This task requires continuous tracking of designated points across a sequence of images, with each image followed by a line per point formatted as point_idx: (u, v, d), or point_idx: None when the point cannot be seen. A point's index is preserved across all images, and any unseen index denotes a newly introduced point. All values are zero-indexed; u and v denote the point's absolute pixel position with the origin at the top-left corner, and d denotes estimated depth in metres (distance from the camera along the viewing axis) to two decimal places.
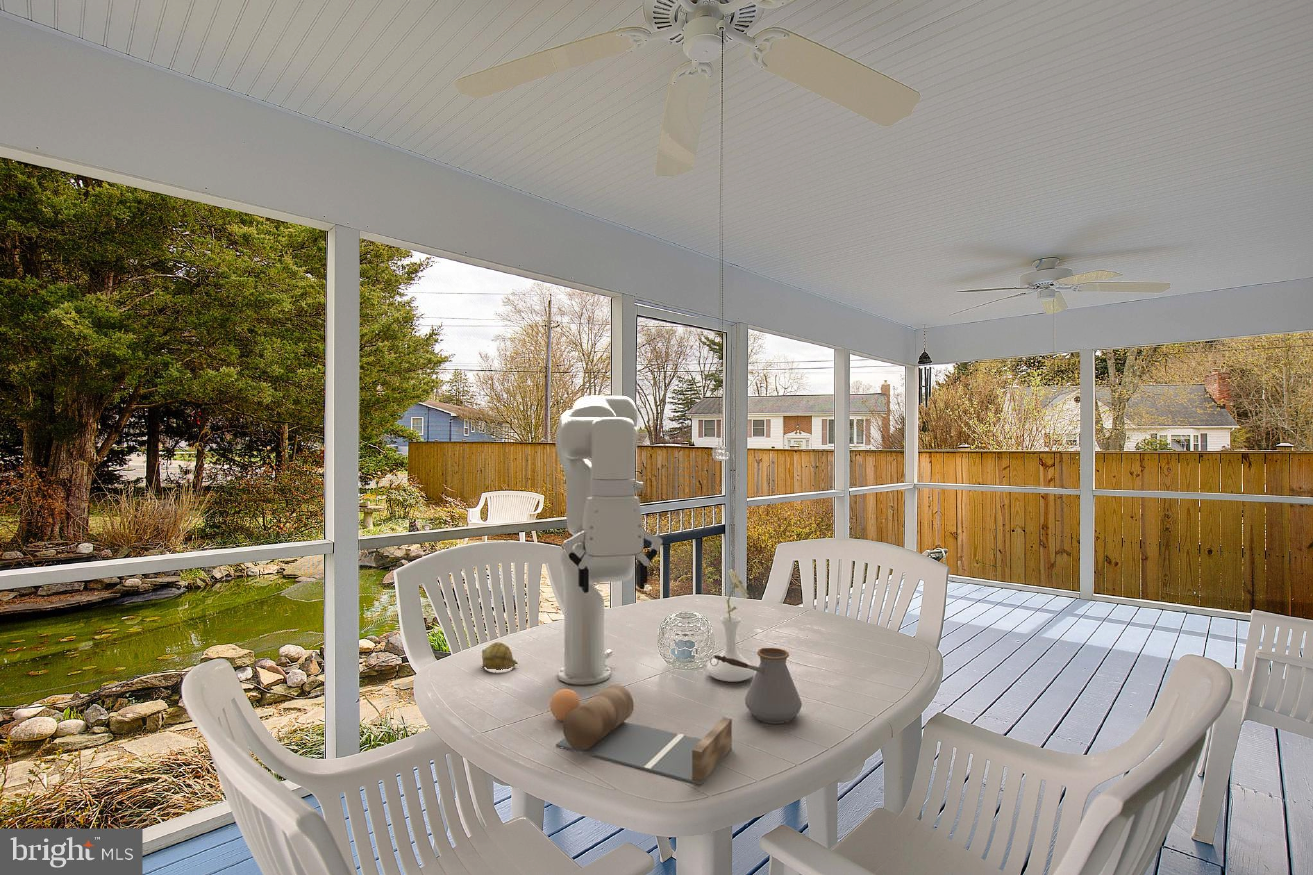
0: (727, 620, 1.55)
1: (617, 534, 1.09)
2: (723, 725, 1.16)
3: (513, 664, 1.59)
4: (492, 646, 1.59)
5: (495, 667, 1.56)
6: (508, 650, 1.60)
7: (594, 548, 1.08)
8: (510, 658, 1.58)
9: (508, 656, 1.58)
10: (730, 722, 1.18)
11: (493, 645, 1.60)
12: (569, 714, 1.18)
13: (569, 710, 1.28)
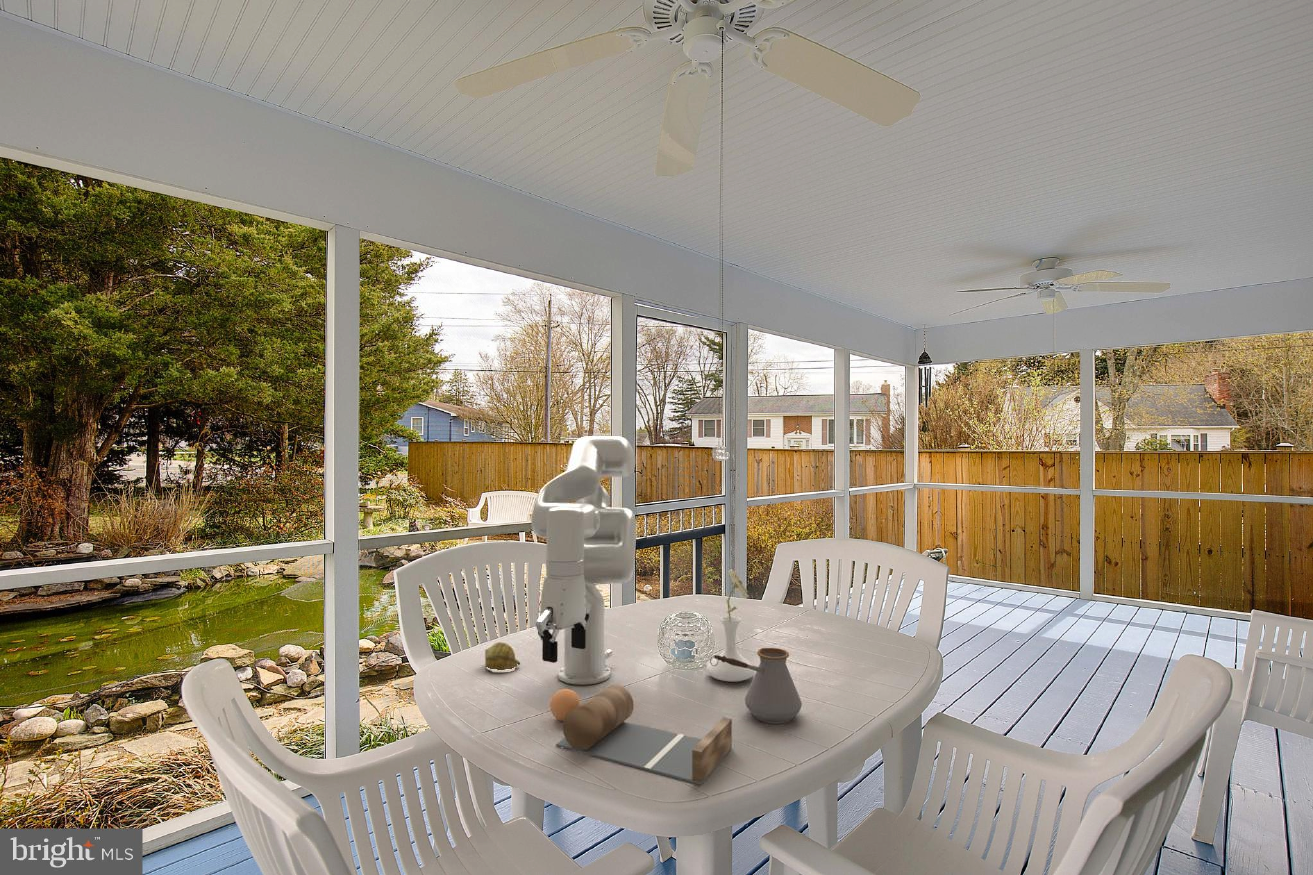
0: (727, 620, 1.55)
1: (575, 606, 1.29)
2: (723, 725, 1.16)
3: (515, 664, 1.59)
4: (495, 646, 1.59)
5: (497, 667, 1.56)
6: (511, 650, 1.59)
7: (563, 622, 1.26)
8: (512, 658, 1.58)
9: (510, 656, 1.58)
10: (730, 722, 1.18)
11: (496, 645, 1.60)
12: (569, 714, 1.18)
13: (569, 710, 1.28)
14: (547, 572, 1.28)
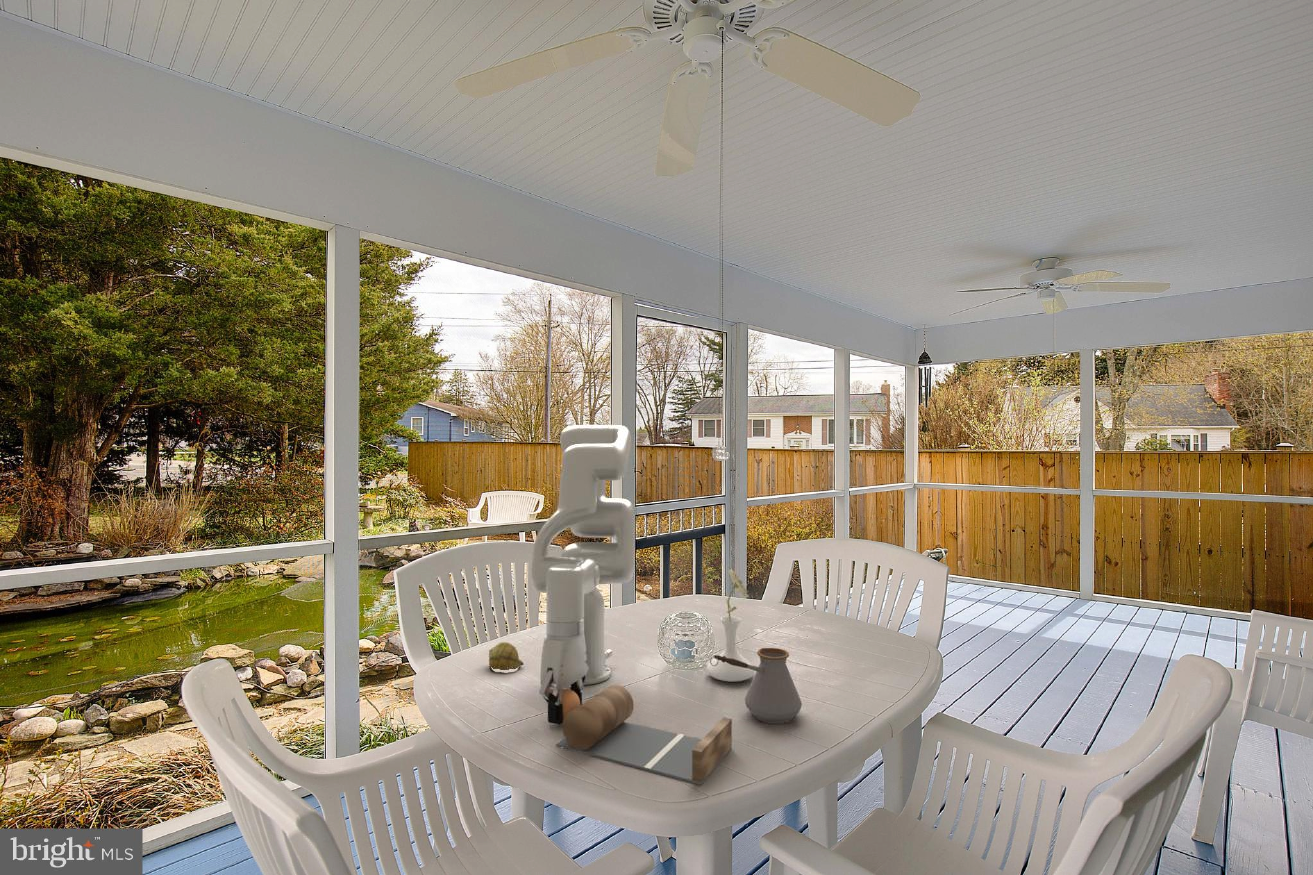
0: (727, 620, 1.55)
1: (576, 665, 1.29)
2: (723, 725, 1.16)
3: (519, 664, 1.58)
4: (498, 646, 1.59)
5: (500, 667, 1.56)
6: (514, 650, 1.59)
7: (563, 682, 1.26)
8: (516, 658, 1.58)
9: (514, 656, 1.58)
10: (730, 722, 1.18)
11: (499, 645, 1.60)
12: (569, 714, 1.18)
13: (569, 710, 1.28)
14: (547, 632, 1.28)
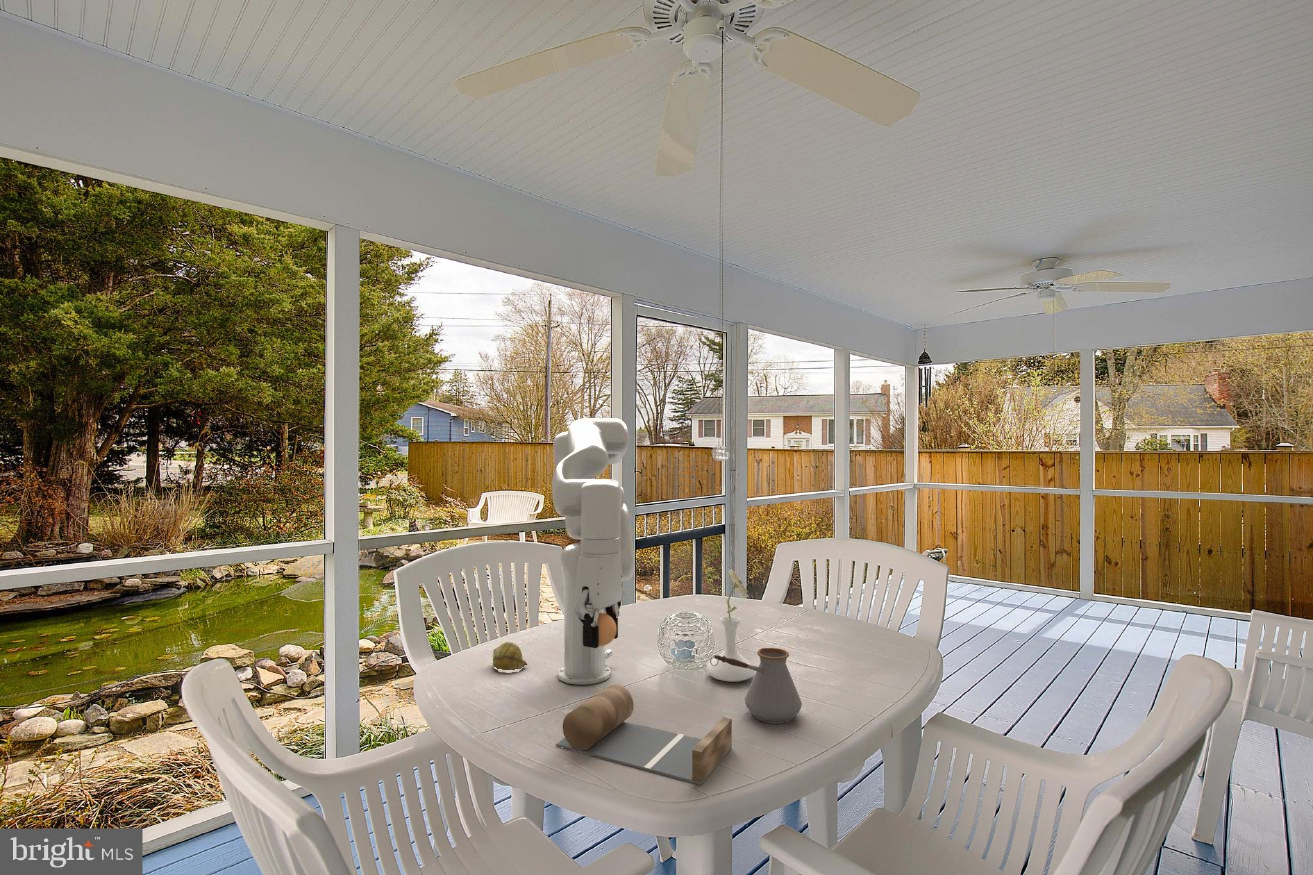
0: (727, 620, 1.55)
1: (612, 586, 1.22)
2: (723, 725, 1.16)
3: (522, 665, 1.58)
4: (502, 646, 1.59)
5: (503, 667, 1.56)
6: (518, 650, 1.59)
7: (599, 602, 1.19)
8: (519, 658, 1.58)
9: (517, 656, 1.58)
10: (730, 722, 1.18)
11: (503, 645, 1.60)
12: (569, 714, 1.18)
13: (605, 633, 1.20)
14: (582, 550, 1.22)
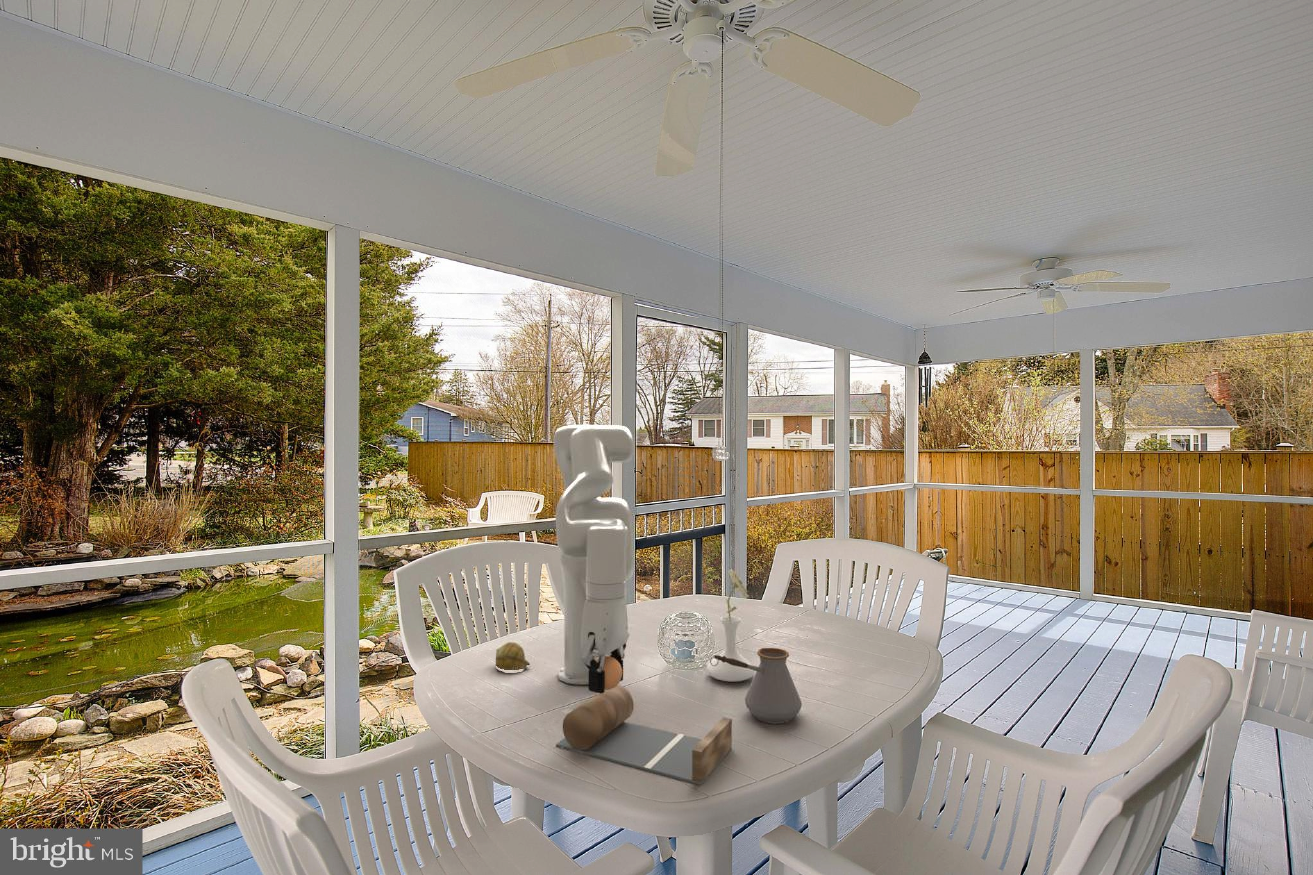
0: (727, 620, 1.55)
1: (618, 630, 1.21)
2: (723, 725, 1.16)
3: (524, 665, 1.58)
4: (505, 646, 1.59)
5: (505, 667, 1.56)
6: (520, 651, 1.59)
7: (605, 648, 1.18)
8: (521, 659, 1.58)
9: (519, 657, 1.58)
10: (730, 722, 1.18)
11: (506, 645, 1.60)
12: (569, 714, 1.18)
13: (611, 678, 1.20)
14: (588, 594, 1.21)
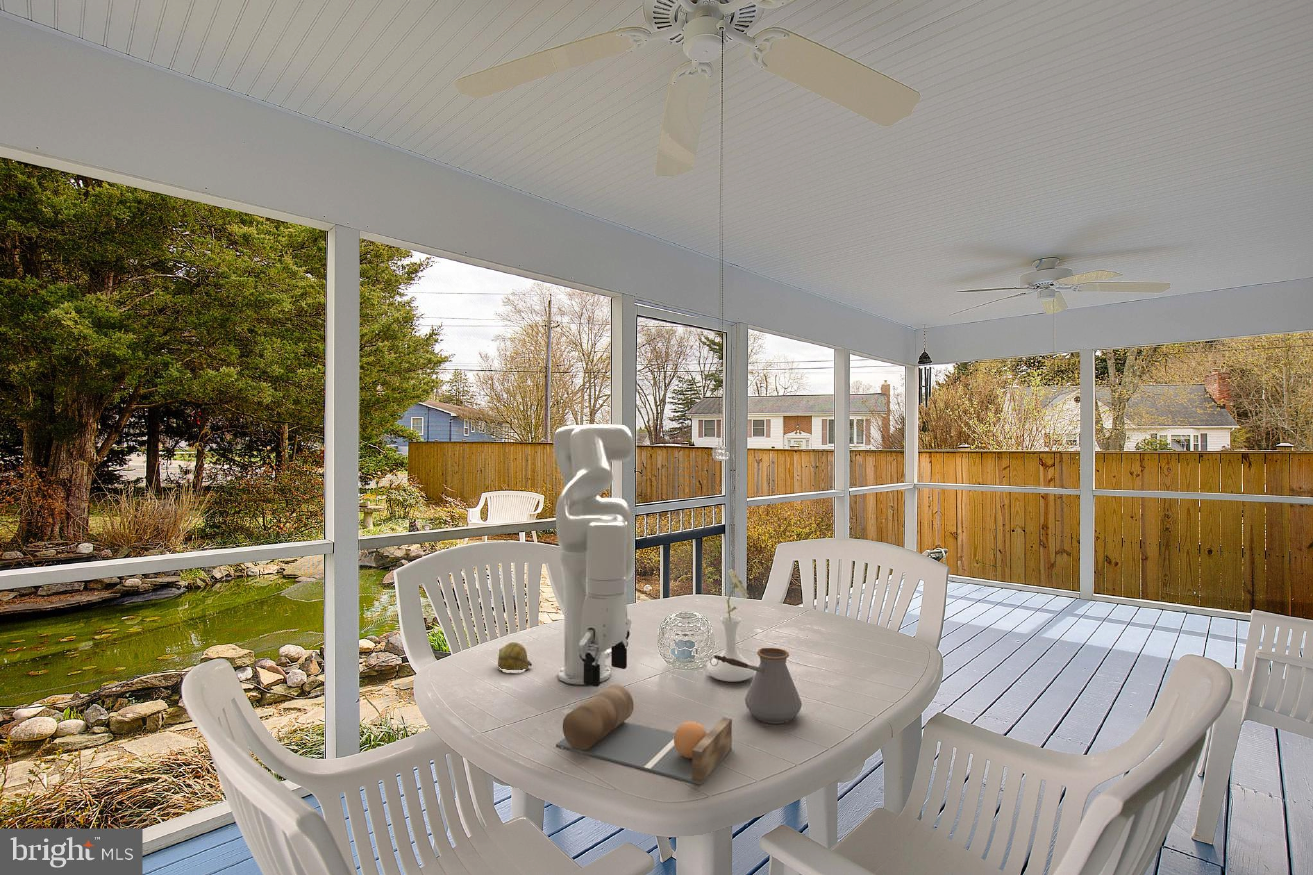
0: (727, 620, 1.55)
1: (617, 626, 1.22)
2: (723, 725, 1.16)
3: (527, 665, 1.58)
4: (507, 646, 1.59)
5: (507, 667, 1.56)
6: (522, 651, 1.59)
7: (605, 643, 1.18)
8: (523, 659, 1.58)
9: (521, 657, 1.58)
10: (730, 722, 1.18)
11: (508, 645, 1.60)
12: (569, 714, 1.18)
13: None
14: (588, 590, 1.21)
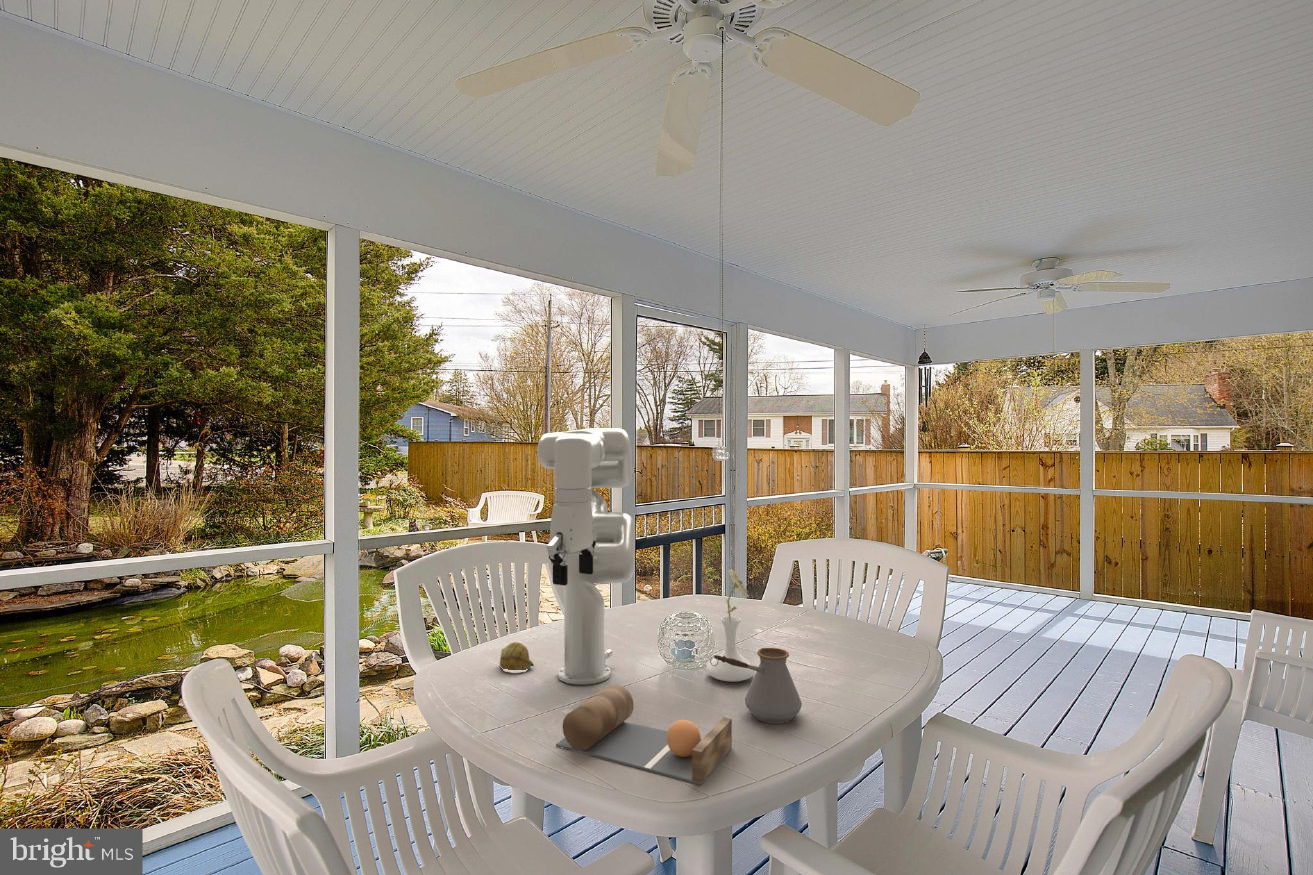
0: (727, 620, 1.55)
1: (584, 532, 1.33)
2: (723, 725, 1.16)
3: (528, 665, 1.58)
4: (509, 646, 1.59)
5: (509, 667, 1.56)
6: (524, 651, 1.59)
7: (572, 546, 1.29)
8: (525, 659, 1.58)
9: (523, 657, 1.57)
10: (730, 722, 1.18)
11: (510, 645, 1.60)
12: (569, 714, 1.18)
13: (691, 745, 1.12)
14: (556, 499, 1.31)
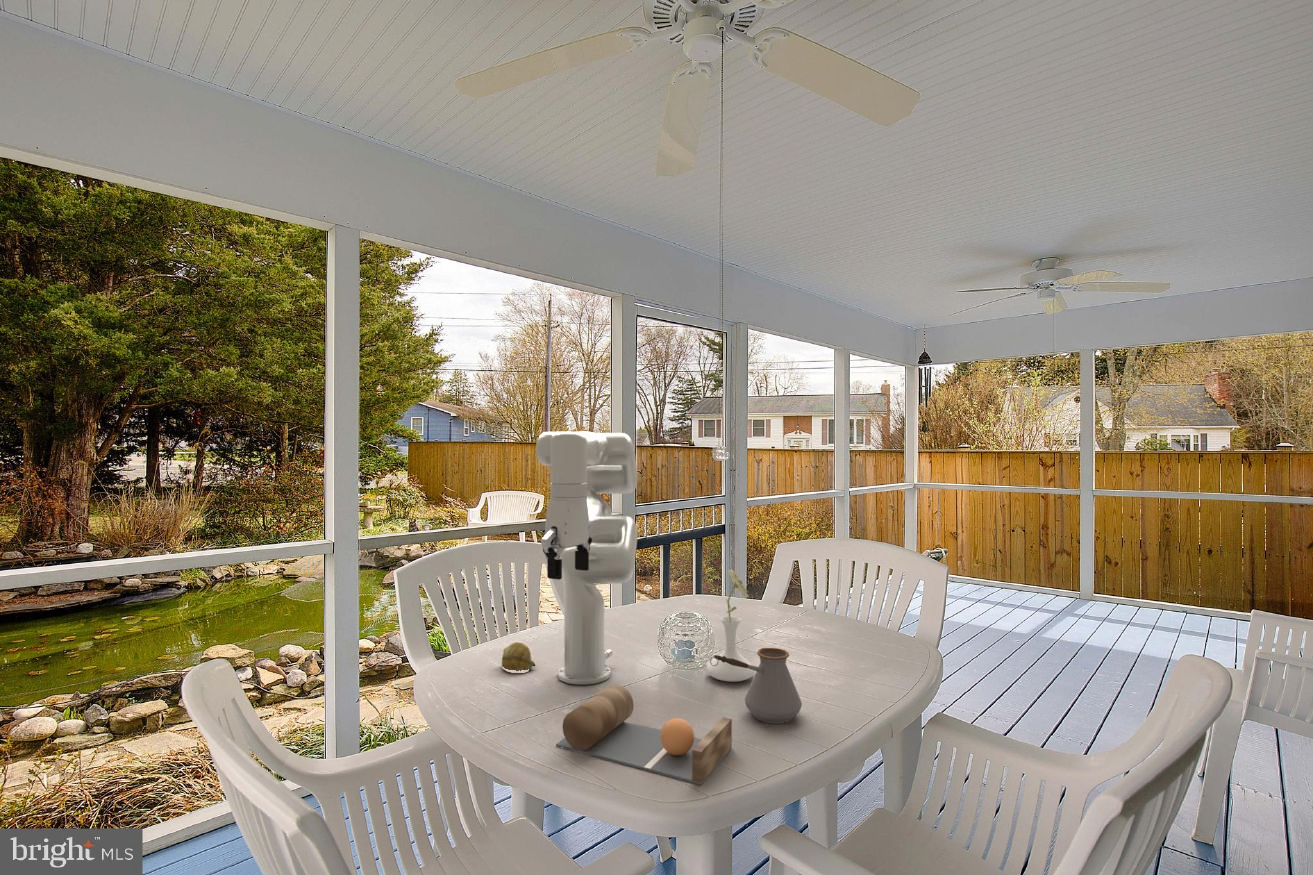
0: (727, 620, 1.55)
1: (579, 527, 1.34)
2: (723, 725, 1.16)
3: (530, 665, 1.58)
4: (511, 646, 1.59)
5: (511, 667, 1.56)
6: (526, 651, 1.59)
7: (567, 541, 1.31)
8: (527, 659, 1.57)
9: (525, 657, 1.57)
10: (730, 722, 1.18)
11: (512, 645, 1.60)
12: (569, 714, 1.18)
13: (684, 738, 1.13)
14: (551, 494, 1.33)
